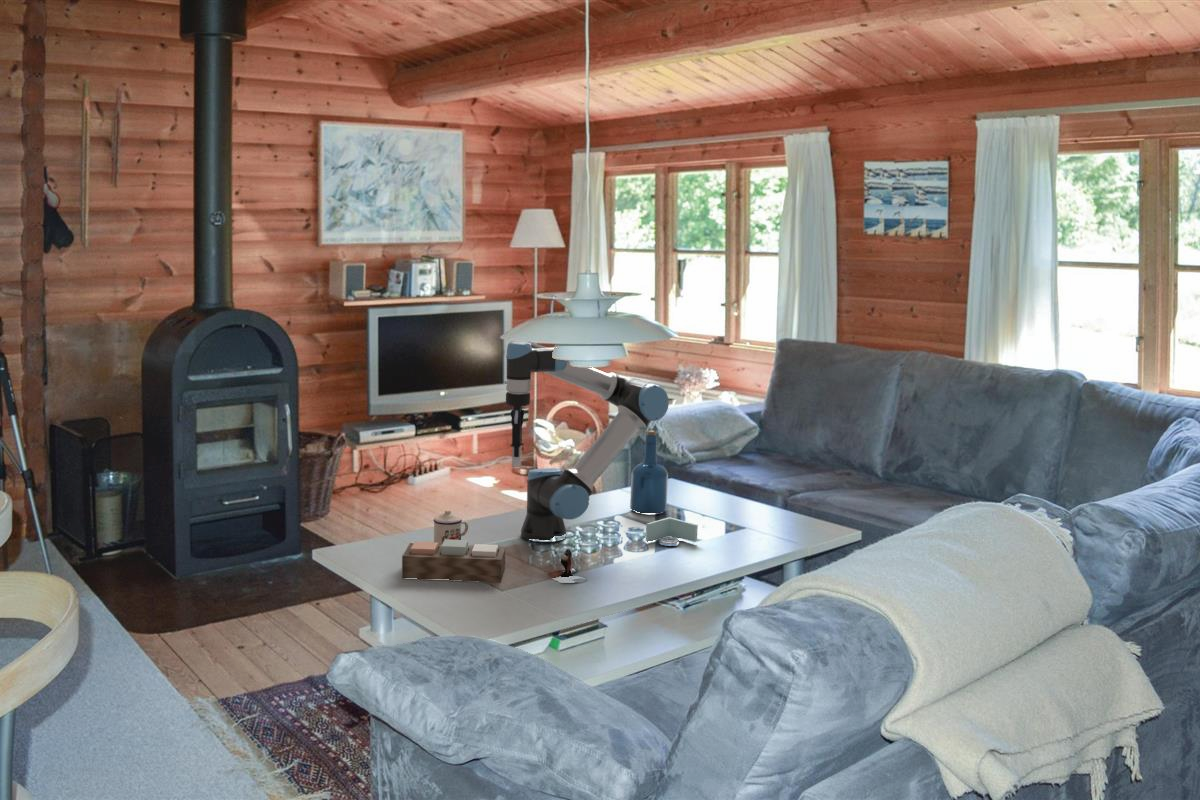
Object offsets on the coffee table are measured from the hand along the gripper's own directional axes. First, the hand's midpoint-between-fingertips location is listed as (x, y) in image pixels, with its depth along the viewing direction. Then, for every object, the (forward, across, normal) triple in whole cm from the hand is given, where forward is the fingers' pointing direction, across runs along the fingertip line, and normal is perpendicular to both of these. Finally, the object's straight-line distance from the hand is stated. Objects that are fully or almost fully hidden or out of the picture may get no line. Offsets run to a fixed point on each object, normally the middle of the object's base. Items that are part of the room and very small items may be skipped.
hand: (516, 466), depth 363 cm
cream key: (+25, +22, -7) cm, 34 cm away
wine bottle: (+29, -57, +44) cm, 77 cm away
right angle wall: (+29, -17, +50) cm, 61 cm away
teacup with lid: (+29, -7, -21) cm, 36 cm away
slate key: (+24, +22, -16) cm, 36 cm away
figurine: (+29, +20, +18) cm, 40 cm away
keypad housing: (+28, +22, -16) cm, 39 cm away
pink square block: (+25, +22, -25) cm, 42 cm away
